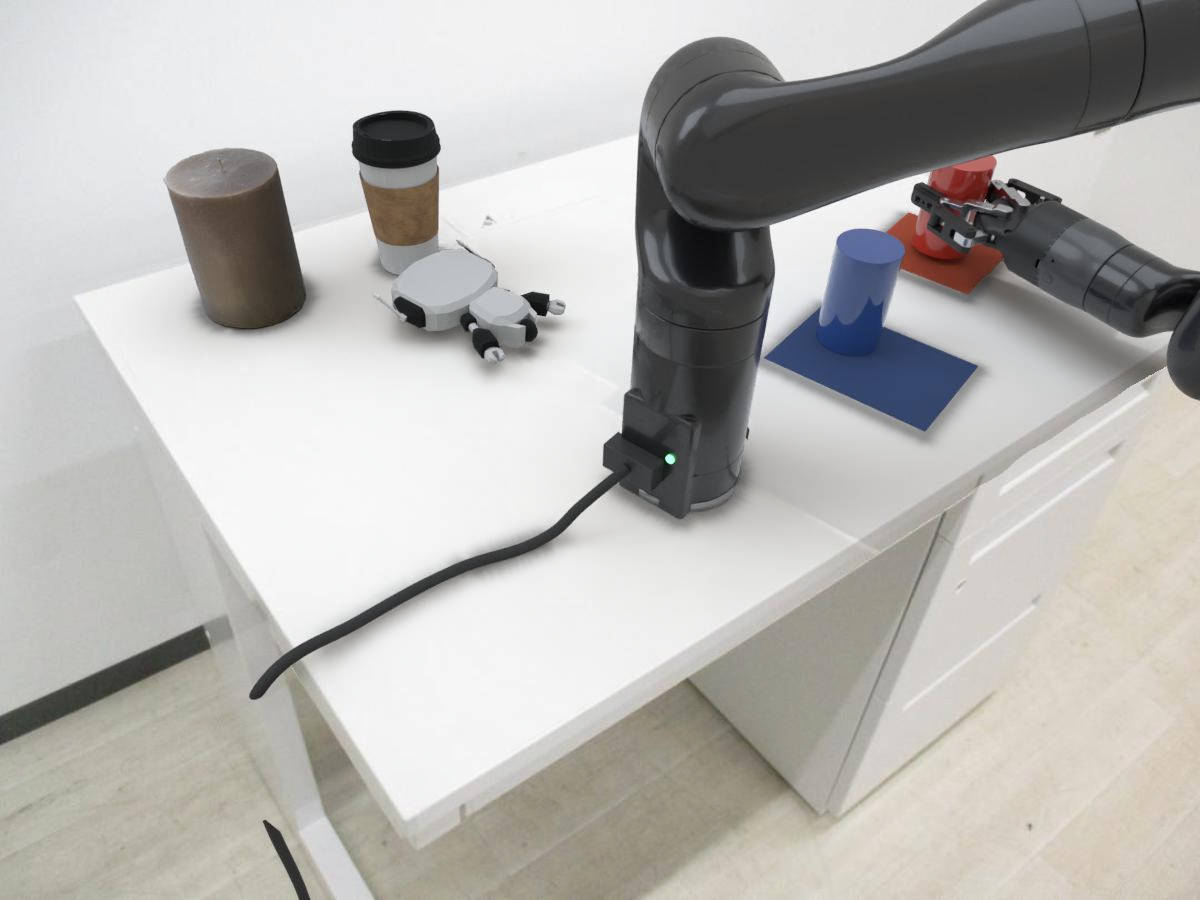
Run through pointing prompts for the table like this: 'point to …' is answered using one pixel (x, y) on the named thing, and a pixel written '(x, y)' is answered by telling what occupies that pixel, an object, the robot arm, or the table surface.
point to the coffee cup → (400, 184)
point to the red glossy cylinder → (956, 184)
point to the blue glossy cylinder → (859, 291)
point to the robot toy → (468, 301)
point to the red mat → (944, 260)
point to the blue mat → (879, 372)
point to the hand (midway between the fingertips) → (937, 184)
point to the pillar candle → (237, 236)
